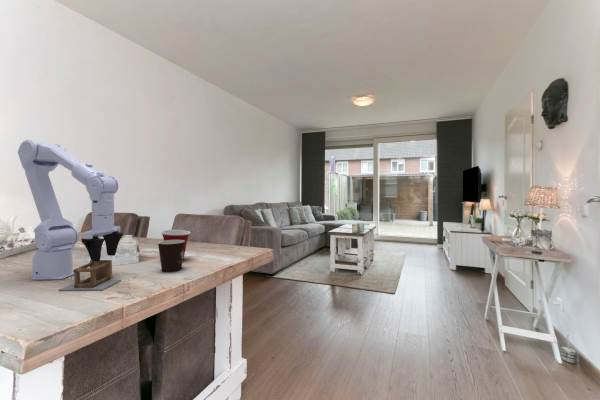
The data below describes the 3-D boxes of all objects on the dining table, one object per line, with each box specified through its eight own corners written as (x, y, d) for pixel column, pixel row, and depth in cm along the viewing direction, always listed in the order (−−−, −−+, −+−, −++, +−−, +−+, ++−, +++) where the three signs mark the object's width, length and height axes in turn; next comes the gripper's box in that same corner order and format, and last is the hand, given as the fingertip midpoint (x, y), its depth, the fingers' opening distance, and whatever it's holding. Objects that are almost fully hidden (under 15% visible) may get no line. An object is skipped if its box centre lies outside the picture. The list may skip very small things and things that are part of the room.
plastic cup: (180, 264, 106) (180, 233, 106) (155, 263, 108) (154, 232, 108) (196, 258, 117) (195, 229, 117) (172, 256, 119) (172, 228, 118)
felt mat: (58, 291, 78) (58, 289, 78) (80, 281, 86) (80, 280, 86) (102, 290, 78) (102, 289, 78) (120, 280, 87) (120, 279, 87)
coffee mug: (174, 274, 94) (174, 244, 94) (152, 272, 96) (152, 243, 96) (194, 265, 106) (194, 238, 105) (174, 263, 107) (174, 238, 107)
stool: (92, 278, 87) (73, 288, 79) (91, 260, 87) (71, 268, 79) (112, 278, 87) (94, 288, 79) (111, 259, 87) (93, 268, 79)
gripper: (100, 217, 80) (101, 263, 81) (129, 213, 95) (129, 252, 95) (75, 217, 80) (76, 264, 80) (107, 213, 94) (108, 253, 95)
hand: (103, 258), depth 88 cm, fingers open, 7 cm apart
